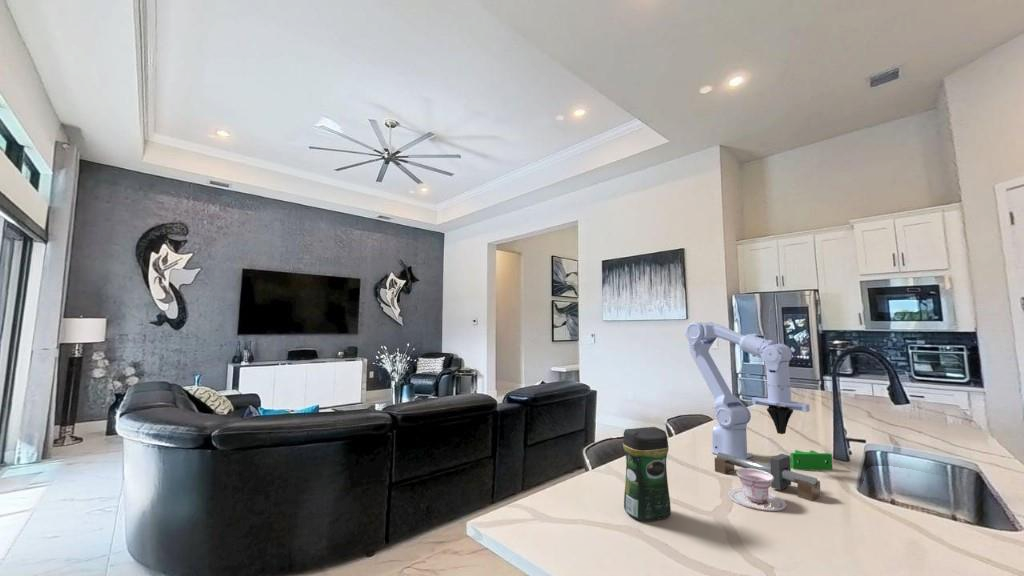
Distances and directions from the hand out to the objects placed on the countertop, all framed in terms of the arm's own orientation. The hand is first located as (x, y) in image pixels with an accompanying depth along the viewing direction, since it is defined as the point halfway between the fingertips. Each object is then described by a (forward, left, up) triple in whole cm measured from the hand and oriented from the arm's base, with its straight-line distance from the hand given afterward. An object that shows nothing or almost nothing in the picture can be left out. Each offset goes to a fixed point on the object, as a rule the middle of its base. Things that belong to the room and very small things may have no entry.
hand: (781, 433), depth 122 cm
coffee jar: (-5, -56, -11) cm, 57 cm away
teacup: (+6, -28, -11) cm, 30 cm away
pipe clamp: (+3, +9, -11) cm, 15 cm away
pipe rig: (+1, -15, -10) cm, 18 cm away
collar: (+6, -15, -10) cm, 19 cm away
